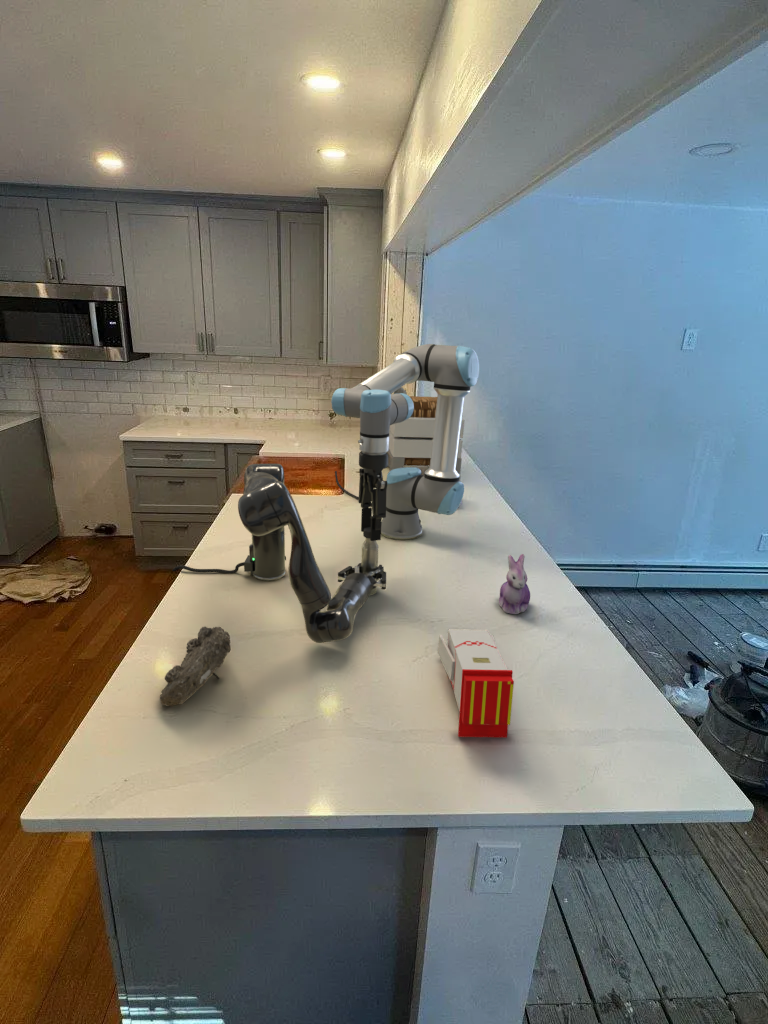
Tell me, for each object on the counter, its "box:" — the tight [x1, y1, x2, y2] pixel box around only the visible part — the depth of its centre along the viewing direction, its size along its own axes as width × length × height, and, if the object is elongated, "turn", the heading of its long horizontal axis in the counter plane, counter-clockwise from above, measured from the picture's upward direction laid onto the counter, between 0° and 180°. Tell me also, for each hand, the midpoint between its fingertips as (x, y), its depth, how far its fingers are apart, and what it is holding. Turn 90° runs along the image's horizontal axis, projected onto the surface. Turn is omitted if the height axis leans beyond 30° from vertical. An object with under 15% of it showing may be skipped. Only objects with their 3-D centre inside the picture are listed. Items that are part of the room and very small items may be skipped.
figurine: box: [498, 553, 531, 615], centre depth 151 cm, size 9×10×15 cm
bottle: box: [360, 538, 379, 596], centre depth 156 cm, size 4×4×18 cm
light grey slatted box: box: [386, 386, 465, 482], centre depth 268 cm, size 34×33×41 cm
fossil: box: [159, 626, 232, 707], centre depth 118 cm, size 22×10×15 cm
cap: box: [362, 527, 371, 539], centre depth 153 cm, size 4×4×2 cm
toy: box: [437, 628, 515, 738], centre depth 117 cm, size 12×13×30 cm
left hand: (371, 566), depth 159 cm, fingers closed on bottle, 4 cm apart
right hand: (370, 535), depth 153 cm, fingers open, 6 cm apart
